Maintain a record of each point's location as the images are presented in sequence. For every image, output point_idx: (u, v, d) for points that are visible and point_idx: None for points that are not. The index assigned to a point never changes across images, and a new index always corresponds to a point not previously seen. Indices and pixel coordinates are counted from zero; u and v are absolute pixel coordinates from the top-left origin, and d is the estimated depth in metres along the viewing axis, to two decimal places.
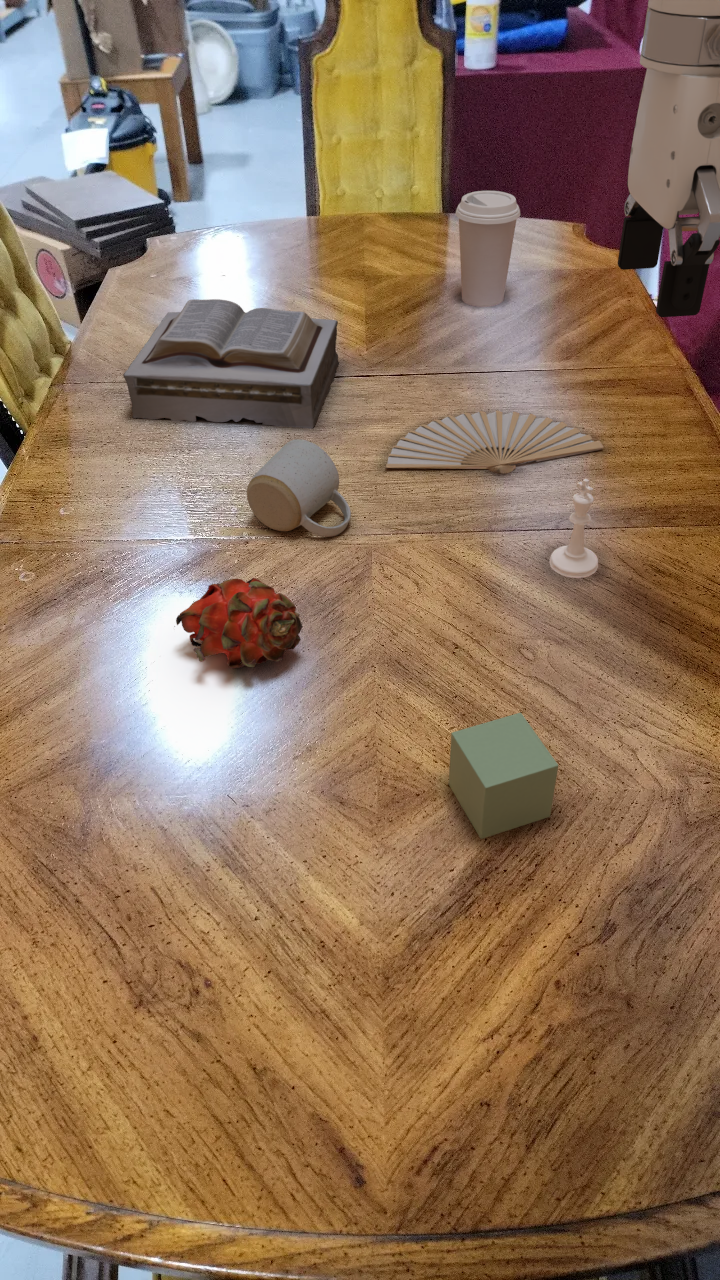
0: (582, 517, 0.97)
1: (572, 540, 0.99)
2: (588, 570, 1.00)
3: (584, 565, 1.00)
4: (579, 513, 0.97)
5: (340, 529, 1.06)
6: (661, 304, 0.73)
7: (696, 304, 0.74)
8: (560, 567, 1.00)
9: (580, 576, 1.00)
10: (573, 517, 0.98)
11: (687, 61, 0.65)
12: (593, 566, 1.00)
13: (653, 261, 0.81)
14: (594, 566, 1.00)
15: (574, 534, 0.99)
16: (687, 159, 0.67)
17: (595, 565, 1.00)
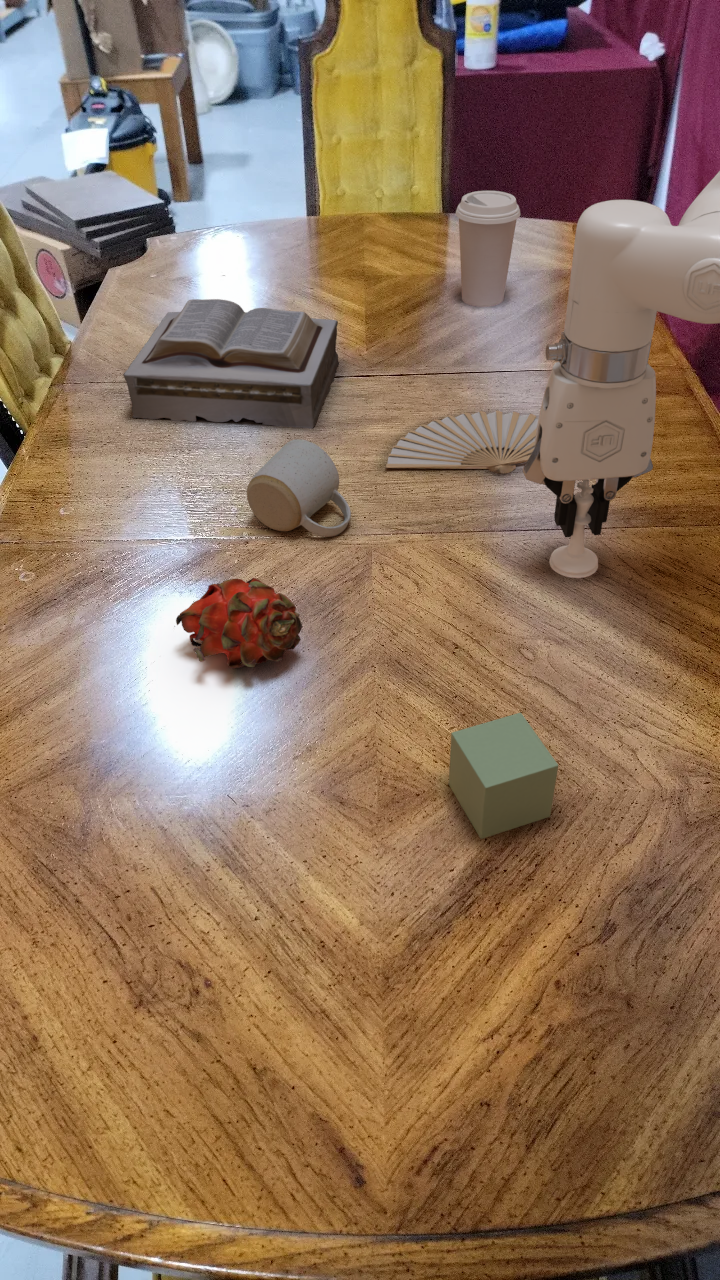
0: (582, 517, 0.97)
1: (572, 540, 0.99)
2: (588, 570, 1.00)
3: (584, 565, 1.00)
4: (579, 513, 0.97)
5: (340, 529, 1.06)
6: None
7: (565, 529, 0.97)
8: (560, 567, 1.00)
9: (580, 576, 1.00)
10: None
11: None
12: (593, 566, 1.00)
13: (593, 529, 0.98)
14: (594, 566, 1.00)
15: (574, 534, 0.99)
16: None
17: (595, 565, 1.00)
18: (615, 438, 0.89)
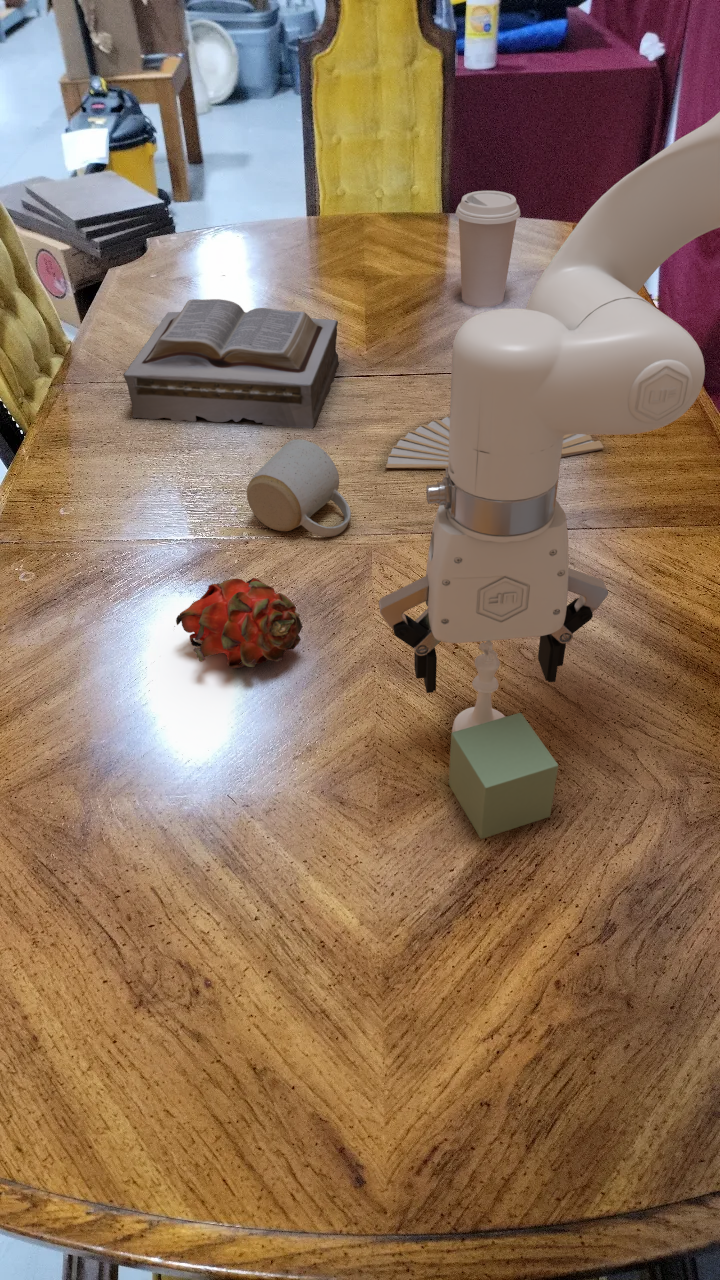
0: (487, 683, 0.80)
1: (477, 707, 0.82)
2: None
3: None
4: (483, 679, 0.79)
5: (340, 529, 1.06)
6: None
7: (426, 684, 0.78)
8: None
9: None
10: (476, 683, 0.80)
11: None
12: None
13: (546, 675, 0.79)
14: None
15: (479, 701, 0.81)
16: None
17: None
18: (519, 595, 0.71)
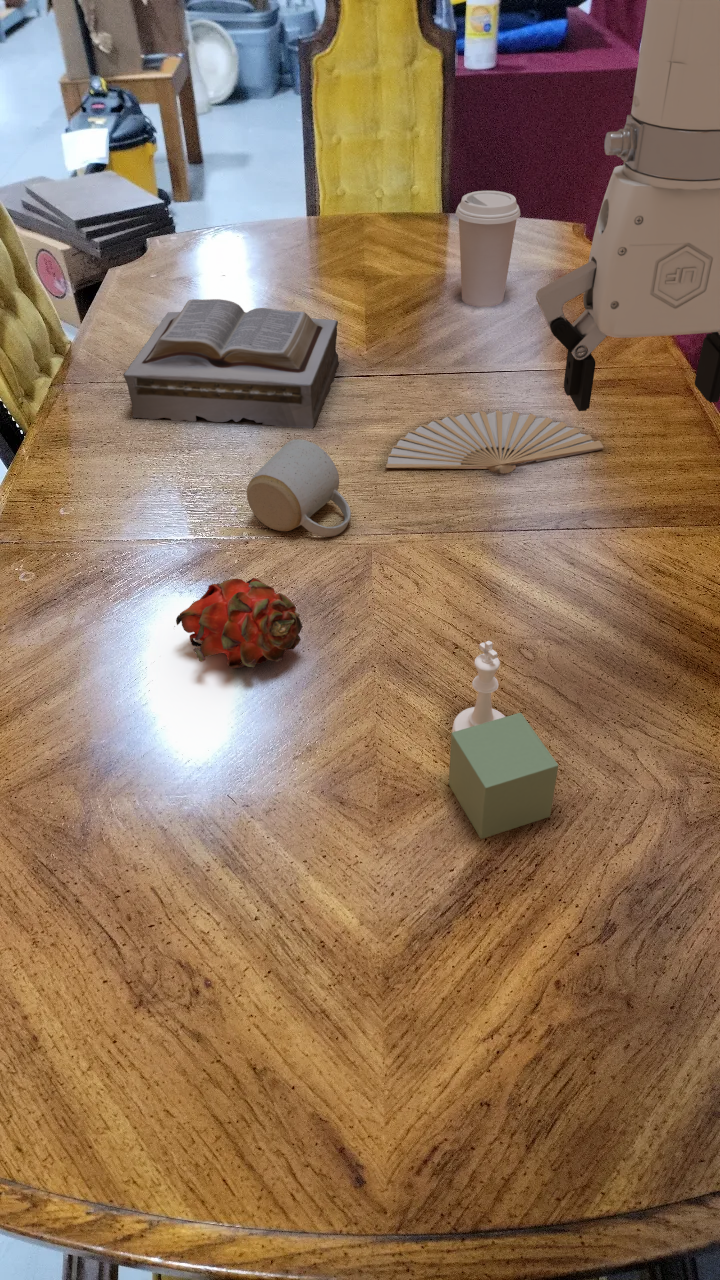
0: (487, 683, 0.80)
1: (477, 707, 0.82)
2: None
3: None
4: (483, 679, 0.79)
5: (340, 529, 1.06)
6: None
7: (579, 400, 0.71)
8: None
9: None
10: (476, 683, 0.80)
11: None
12: None
13: (708, 394, 0.72)
14: None
15: (479, 701, 0.81)
16: None
17: None
18: (699, 272, 0.65)
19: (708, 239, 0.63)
